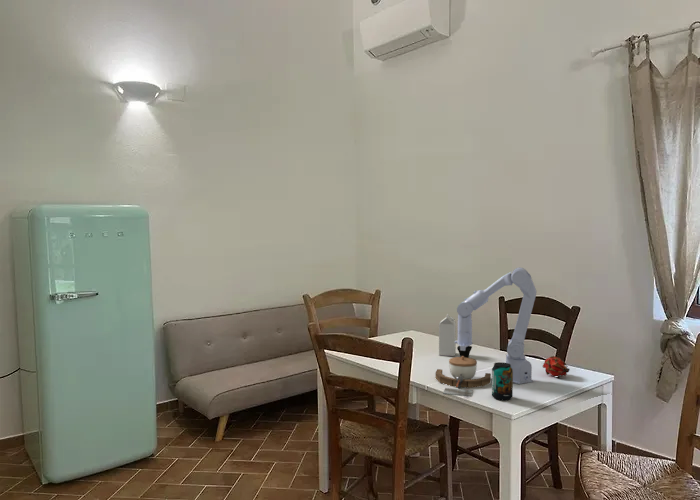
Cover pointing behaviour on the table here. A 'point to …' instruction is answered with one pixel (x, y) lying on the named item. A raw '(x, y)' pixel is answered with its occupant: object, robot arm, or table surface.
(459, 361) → the lidded jar
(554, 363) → the dragon fruit
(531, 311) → the robot arm
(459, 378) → the indicator
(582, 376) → the table surface
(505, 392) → the beverage can
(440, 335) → the milk carton
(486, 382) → the yoke
